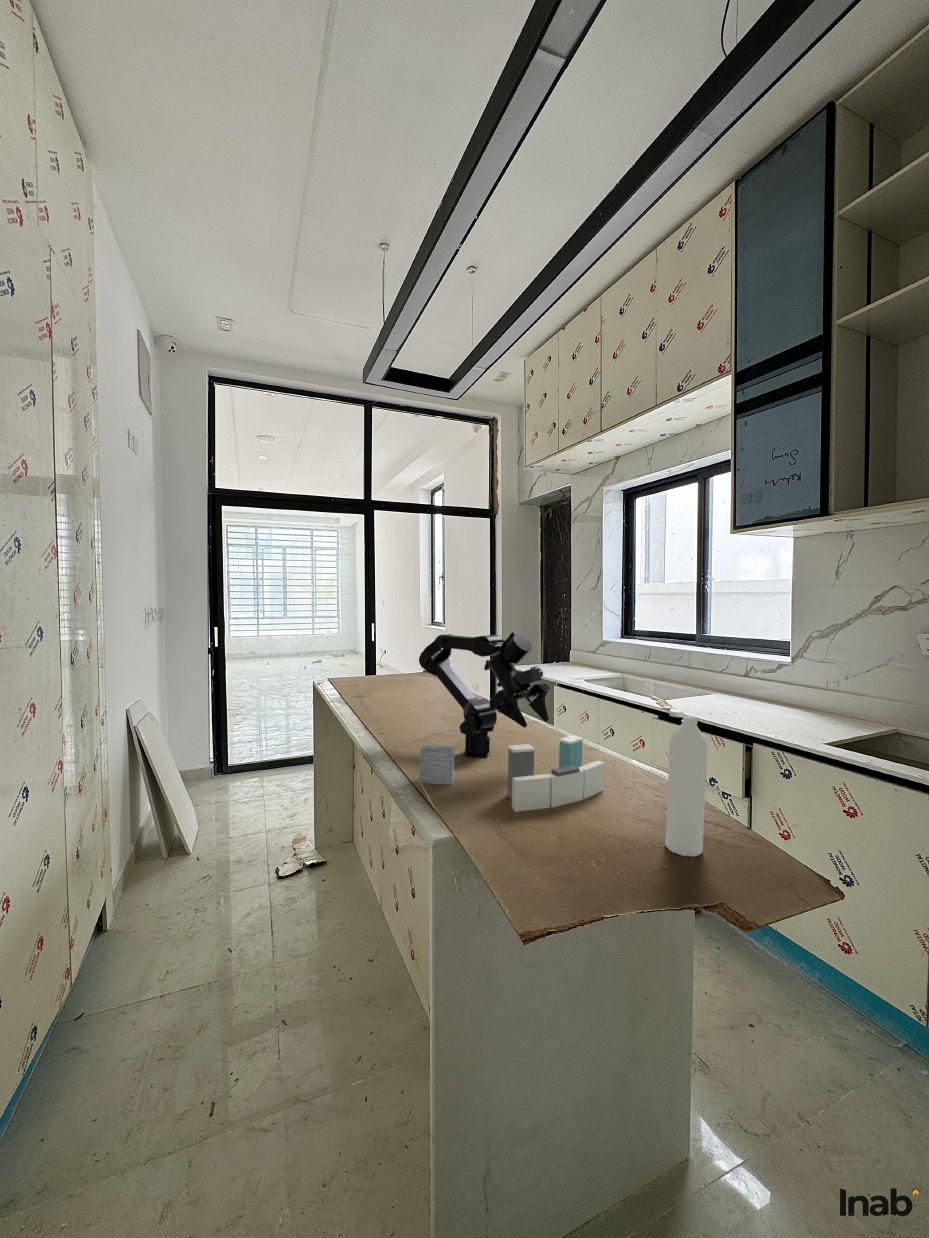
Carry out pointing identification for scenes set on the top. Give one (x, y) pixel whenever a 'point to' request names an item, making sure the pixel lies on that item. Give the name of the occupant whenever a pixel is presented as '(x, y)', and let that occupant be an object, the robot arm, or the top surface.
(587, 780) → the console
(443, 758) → the medicine box
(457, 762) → the top surface
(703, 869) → the top surface
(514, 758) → the grey and white block
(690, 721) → the water bottle
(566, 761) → the teal and white block
